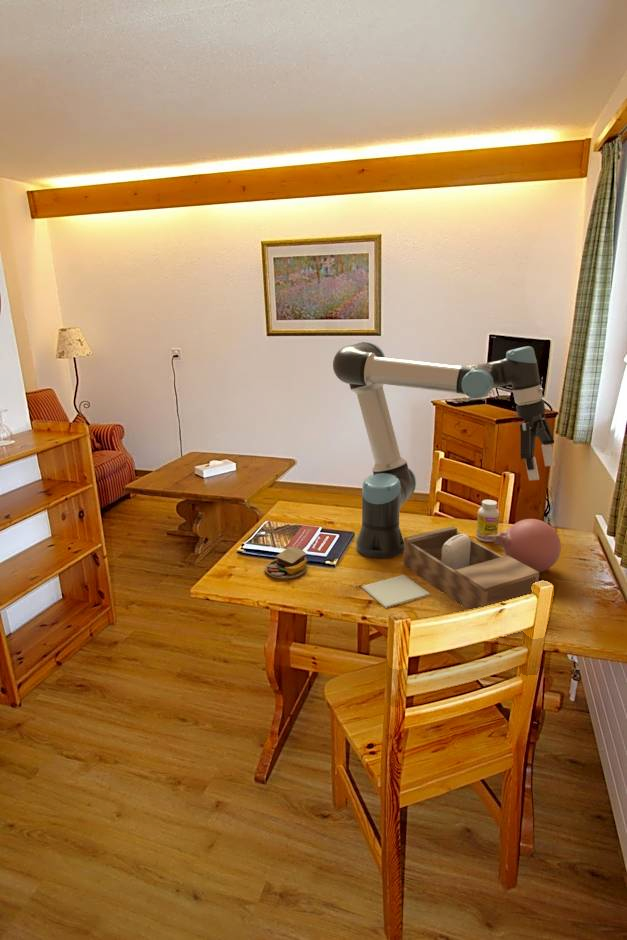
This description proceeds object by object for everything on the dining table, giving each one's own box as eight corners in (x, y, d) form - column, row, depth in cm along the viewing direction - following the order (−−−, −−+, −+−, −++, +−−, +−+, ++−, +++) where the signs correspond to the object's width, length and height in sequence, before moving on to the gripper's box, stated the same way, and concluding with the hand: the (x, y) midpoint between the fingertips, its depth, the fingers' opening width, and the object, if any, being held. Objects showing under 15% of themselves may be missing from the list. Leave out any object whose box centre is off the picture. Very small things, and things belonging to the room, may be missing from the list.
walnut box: (403, 565, 168) (404, 537, 165) (451, 552, 175) (452, 526, 173) (482, 620, 139) (485, 588, 136) (535, 603, 146) (539, 572, 144)
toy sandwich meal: (256, 570, 167) (255, 556, 165) (291, 556, 176) (290, 542, 174) (283, 585, 158) (282, 570, 157) (318, 569, 167) (317, 555, 165)
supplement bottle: (482, 543, 181) (485, 506, 177) (472, 535, 187) (474, 499, 184) (501, 541, 183) (504, 504, 179) (490, 533, 189) (493, 497, 185)
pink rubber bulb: (485, 553, 174) (488, 507, 170) (554, 560, 169) (560, 513, 164) (485, 577, 160) (489, 527, 155) (561, 585, 155) (567, 534, 150)
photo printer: (450, 585, 156) (453, 544, 152) (437, 579, 159) (440, 539, 155) (470, 572, 163) (473, 533, 159) (458, 567, 166) (460, 529, 162)
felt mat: (361, 587, 155) (361, 585, 155) (403, 576, 161) (403, 574, 161) (385, 608, 145) (385, 606, 145) (429, 595, 151) (429, 593, 151)
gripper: (526, 409, 148) (540, 485, 152) (557, 390, 166) (568, 459, 170) (499, 413, 153) (513, 486, 157) (531, 394, 171) (543, 461, 175)
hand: (542, 472), depth 164 cm, fingers open, 13 cm apart
